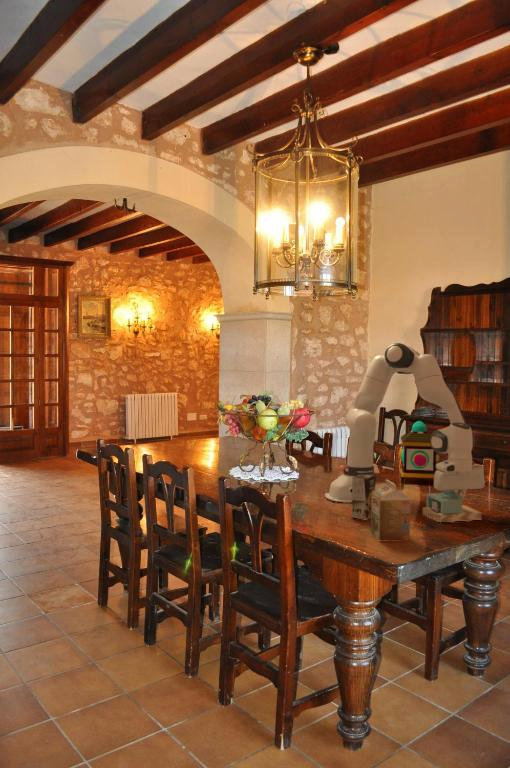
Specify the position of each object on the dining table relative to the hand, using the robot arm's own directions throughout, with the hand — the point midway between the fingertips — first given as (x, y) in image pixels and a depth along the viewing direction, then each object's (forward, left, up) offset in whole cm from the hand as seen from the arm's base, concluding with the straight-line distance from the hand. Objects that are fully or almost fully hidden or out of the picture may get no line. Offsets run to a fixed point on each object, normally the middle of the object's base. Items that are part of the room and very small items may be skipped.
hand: (458, 500), depth 236 cm
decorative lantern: (+17, +64, -7) cm, 66 cm away
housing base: (-3, 0, -7) cm, 7 cm away
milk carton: (-37, -17, -7) cm, 41 cm away
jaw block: (-8, 0, -6) cm, 10 cm away
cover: (-7, 0, -3) cm, 7 cm away
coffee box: (-36, +8, -7) cm, 37 cm away
